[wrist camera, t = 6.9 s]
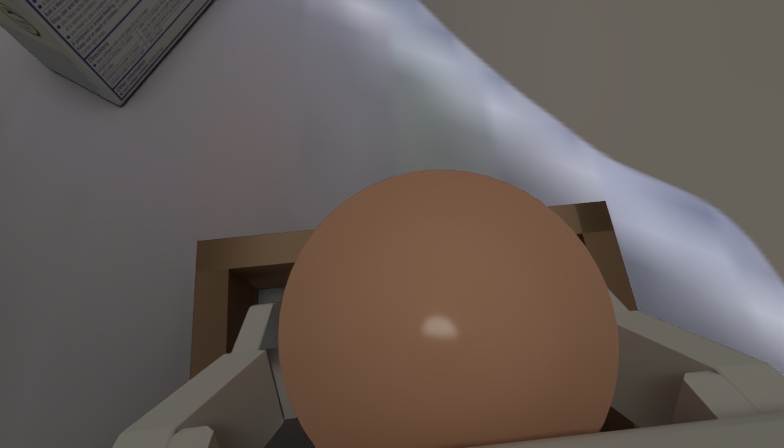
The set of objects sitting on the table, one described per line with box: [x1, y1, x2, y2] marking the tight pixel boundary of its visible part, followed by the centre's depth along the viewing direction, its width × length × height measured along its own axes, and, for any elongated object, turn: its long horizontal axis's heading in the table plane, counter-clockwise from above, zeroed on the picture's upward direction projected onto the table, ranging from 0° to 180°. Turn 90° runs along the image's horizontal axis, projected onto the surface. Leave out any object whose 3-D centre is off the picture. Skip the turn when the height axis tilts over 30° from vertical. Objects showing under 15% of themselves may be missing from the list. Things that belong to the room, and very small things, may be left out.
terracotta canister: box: [278, 170, 619, 448], centre depth 11 cm, size 4×4×10 cm
